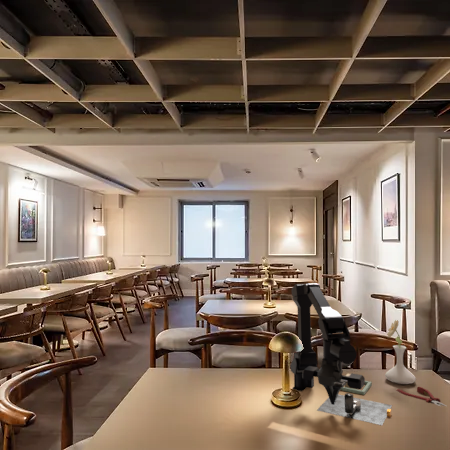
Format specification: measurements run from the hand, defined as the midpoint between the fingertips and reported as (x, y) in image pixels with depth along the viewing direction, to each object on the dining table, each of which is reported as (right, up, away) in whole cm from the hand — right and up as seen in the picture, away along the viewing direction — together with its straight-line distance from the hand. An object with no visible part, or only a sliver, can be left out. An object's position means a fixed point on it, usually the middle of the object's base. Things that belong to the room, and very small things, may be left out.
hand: (333, 404), depth 126 cm
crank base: (+8, -4, +3) cm, 10 cm away
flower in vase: (+35, -6, +31) cm, 47 cm away
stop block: (+13, -5, +22) cm, 26 cm away
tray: (+13, -5, +23) cm, 27 cm away
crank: (+6, -2, +1) cm, 7 cm away
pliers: (+34, -5, +12) cm, 37 cm away
